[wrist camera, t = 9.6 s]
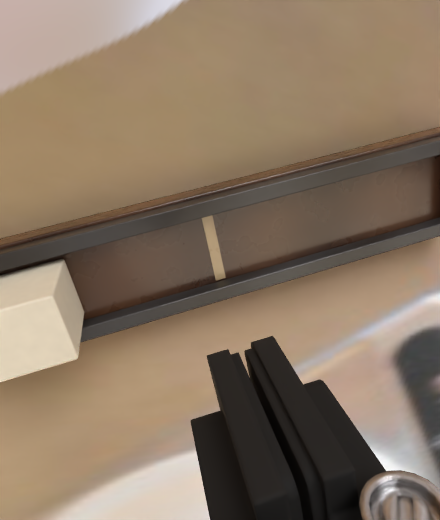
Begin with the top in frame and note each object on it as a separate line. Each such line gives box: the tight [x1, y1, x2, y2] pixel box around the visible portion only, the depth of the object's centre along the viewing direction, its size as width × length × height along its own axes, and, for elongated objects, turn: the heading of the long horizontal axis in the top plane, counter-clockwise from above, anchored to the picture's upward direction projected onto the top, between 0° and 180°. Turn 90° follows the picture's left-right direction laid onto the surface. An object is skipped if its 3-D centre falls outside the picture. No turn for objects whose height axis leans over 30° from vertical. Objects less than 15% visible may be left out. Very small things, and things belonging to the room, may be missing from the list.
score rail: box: [0, 127, 440, 342], centre depth 20 cm, size 26×5×2 cm, turn 101°
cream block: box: [0, 259, 84, 382], centre depth 17 cm, size 4×3×4 cm
